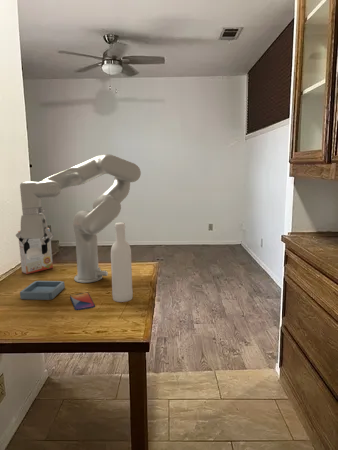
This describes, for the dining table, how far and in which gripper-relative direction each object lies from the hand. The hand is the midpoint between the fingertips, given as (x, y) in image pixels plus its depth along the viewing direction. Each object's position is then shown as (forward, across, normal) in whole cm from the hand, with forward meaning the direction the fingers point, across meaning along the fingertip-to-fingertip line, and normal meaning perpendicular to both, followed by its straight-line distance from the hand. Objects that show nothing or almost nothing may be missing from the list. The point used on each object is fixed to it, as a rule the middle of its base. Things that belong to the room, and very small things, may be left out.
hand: (36, 252), depth 150 cm
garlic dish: (+15, -5, +6) cm, 17 cm away
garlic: (+2, 0, +2) cm, 2 cm away
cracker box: (+16, +14, -24) cm, 32 cm away
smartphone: (+16, -24, +13) cm, 32 cm away
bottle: (+16, -39, +8) cm, 43 cm away
